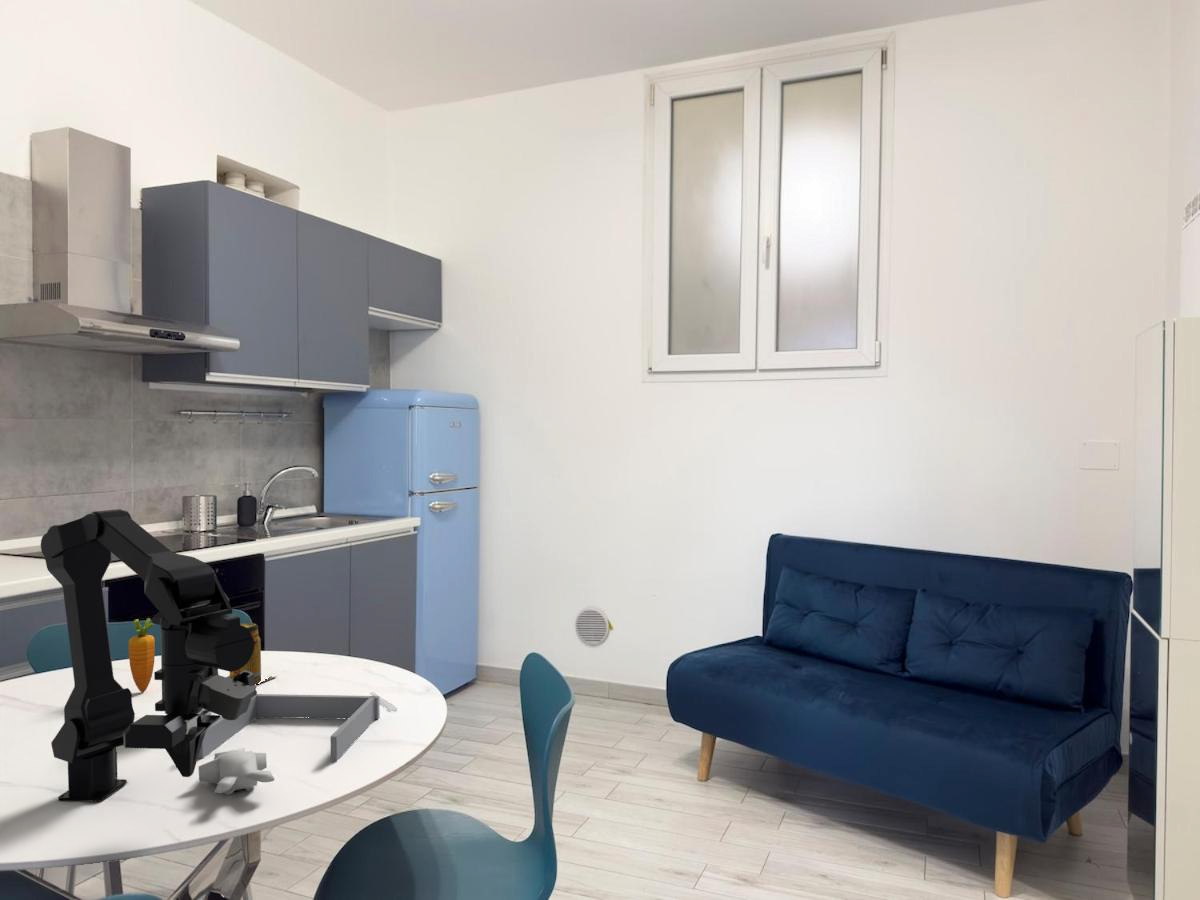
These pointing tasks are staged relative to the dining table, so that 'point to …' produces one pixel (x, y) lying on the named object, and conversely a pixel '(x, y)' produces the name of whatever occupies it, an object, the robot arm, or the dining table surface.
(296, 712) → the grey u-shaped fence
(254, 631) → the condiment
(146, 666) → the carrot
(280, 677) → the dining table surface
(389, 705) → the butter knife
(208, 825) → the dining table surface
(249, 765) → the white rounded figure
